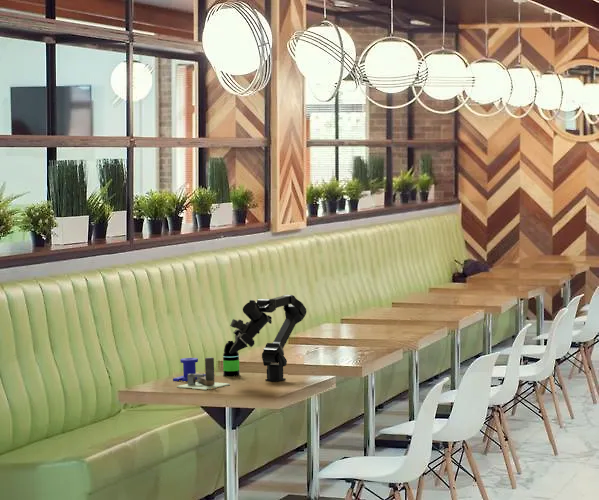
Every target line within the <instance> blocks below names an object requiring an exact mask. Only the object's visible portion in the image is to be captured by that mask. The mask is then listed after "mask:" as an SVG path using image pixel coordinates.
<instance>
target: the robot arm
mask: <svg viewBox="0 0 599 500" xmlns="http://www.w3.org/2000/svg"><path fill="white" fill-rule="evenodd" d="M281 307H282V309H283V311H284V316H285V319H284V321H283V323H282V325H281V327H280V328H279V331H278V332H277V334H276V336H275V338H274V340H273V342H267V343H266V344H265V346H264V348H263V349H262V350H263V351H262V353H261V359H262V364H263V367H266V378H265V379H264V380H265V381H268V382H281V381H285V380H287V379H286V378H285V377H284V367H286V366H287V363H288V359H287V358H286V356H285V351H284V347H285V346H286V343H287V342H288V340H289V338H290V336H291V335H292V332H293V330H294V328H295V327H296V325H297V324H298V323H300V322H302V321H303V319H304V318H305V317H306V315H307V308H306V306H305V304H304V303H303V302H302V301H300V300H299V299H297V297H296V296H295V295H293V294H283V295H280V296H278V297H277V296H276V297H273V298H258V299H256V300H254V299H250V300H249V302H246V304H244V306H243V307H242V313H243V314H244V315H245V316H246V317H247V318H248V319H249V321H246V322H245V323H244V320H242V319H240V318H239V319H238V320H237V319H235V318H232V320H231V323H230V328H231V327H232V328H233V329H235V330H234V331H233V334H234V341H233V342H234V344H233V346H232V348H231V350H230V351H229V353H230V354H232V353H234V352H237V351H238V352H239V351H240V350H243V349H245V348H249V347H250V348H252V347H253V346H254V345H255V340H254V338H255V337H256V336H257V334H260V333H261V330H262V329H263V328H264V327H265V326H266V325H267V324H272V323H273V322H272V316H271V315H267V314H266V313H269V314H272V313H273V312H275V311H276V309H277V308H281Z"/></svg>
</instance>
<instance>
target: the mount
mask: <svg viewBox="0 0 599 500" xmlns="http://www.w3.org/2000/svg"><path fill="white" fill-rule="evenodd" d="M179 360H180V362H179V363H181V364H182V367H183V368H182V371H183V375H180V376H177V377H173V379H172V381H173V382H180V381H179V380H181V382H182V381H188V376H187V375H188V374H197V372H196V370H197V369H196V363H198V362H199V358H198V357H184V358H180V359H179ZM203 374H204V376H206V374H205V373H203ZM195 379H196V380H197V377H195Z"/></svg>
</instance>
